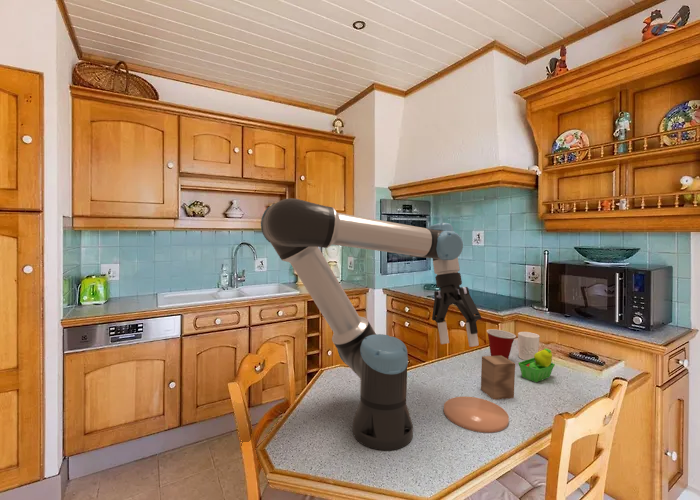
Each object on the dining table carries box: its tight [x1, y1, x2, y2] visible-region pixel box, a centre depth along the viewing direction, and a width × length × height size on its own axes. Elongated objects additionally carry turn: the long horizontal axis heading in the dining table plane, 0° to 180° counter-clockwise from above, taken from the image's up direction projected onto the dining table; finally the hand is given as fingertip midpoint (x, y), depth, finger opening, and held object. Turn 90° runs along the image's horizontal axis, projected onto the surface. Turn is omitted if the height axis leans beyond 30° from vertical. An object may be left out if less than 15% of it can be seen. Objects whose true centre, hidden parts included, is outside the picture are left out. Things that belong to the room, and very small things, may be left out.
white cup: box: [517, 331, 541, 361], centre depth 141 cm, size 8×8×10 cm
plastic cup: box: [486, 328, 517, 360], centre depth 137 cm, size 11×11×12 cm
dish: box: [443, 396, 510, 434], centre depth 96 cm, size 17×17×1 cm
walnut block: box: [480, 355, 516, 401], centre depth 109 cm, size 7×7×11 cm
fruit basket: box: [518, 347, 556, 383], centre depth 122 cm, size 11×9×11 cm
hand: (458, 344), depth 101 cm, fingers open, 13 cm apart
